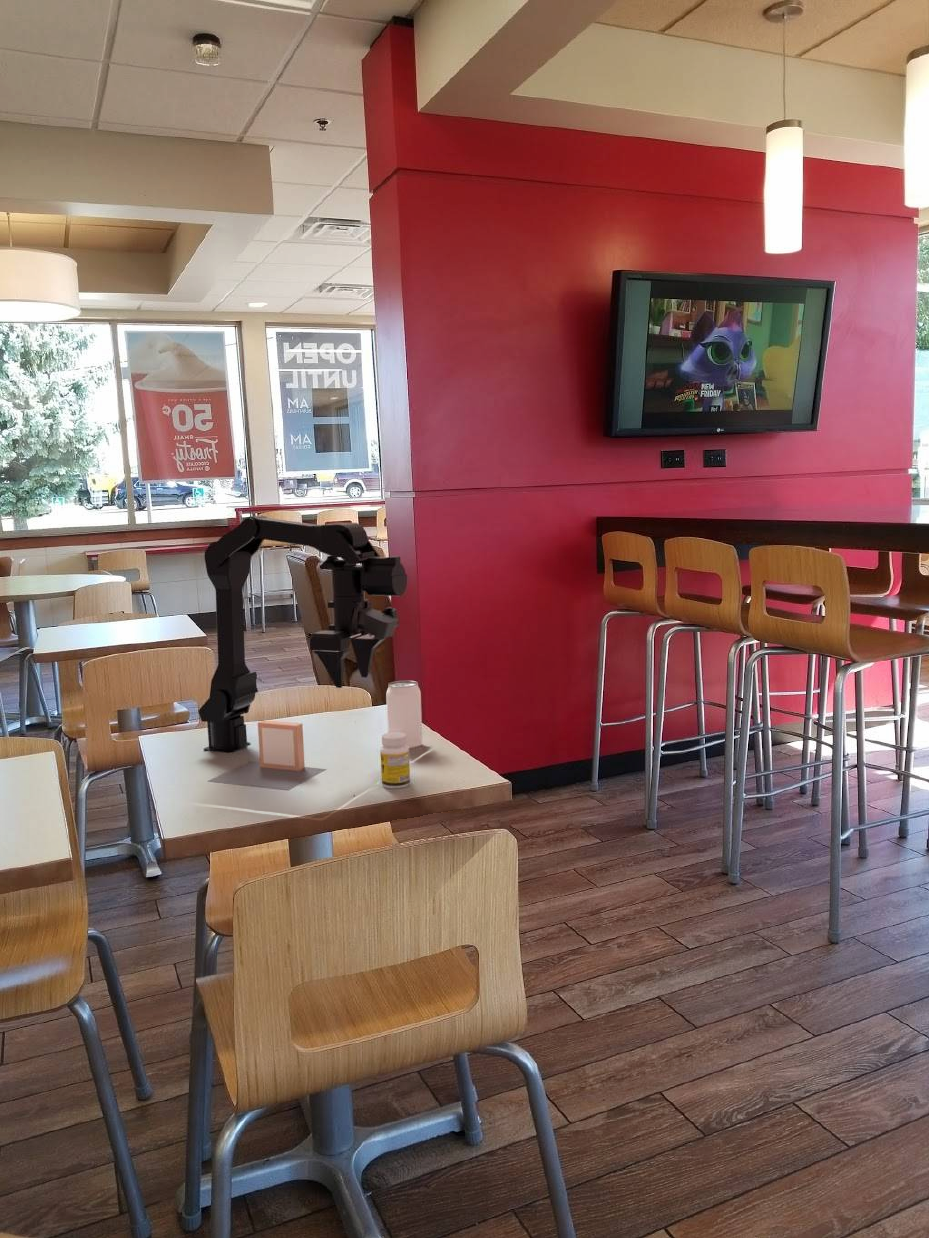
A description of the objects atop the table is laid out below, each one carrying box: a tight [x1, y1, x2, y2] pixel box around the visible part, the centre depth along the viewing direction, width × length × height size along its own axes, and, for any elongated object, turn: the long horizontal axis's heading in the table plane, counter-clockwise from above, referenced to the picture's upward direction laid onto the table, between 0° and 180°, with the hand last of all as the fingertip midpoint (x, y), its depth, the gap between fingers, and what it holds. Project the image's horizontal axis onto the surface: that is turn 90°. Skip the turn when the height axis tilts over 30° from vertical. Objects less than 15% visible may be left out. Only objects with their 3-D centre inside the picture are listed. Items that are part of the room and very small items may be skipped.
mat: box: [208, 761, 327, 791], centre depth 161 cm, size 16×12×1 cm
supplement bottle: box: [379, 732, 411, 790], centre depth 154 cm, size 5×5×8 cm
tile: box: [257, 720, 306, 771], centre depth 164 cm, size 8×2×8 cm, turn 68°
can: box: [385, 680, 423, 749], centre depth 177 cm, size 6×6×12 cm
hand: (352, 682), depth 167 cm, fingers open, 9 cm apart
